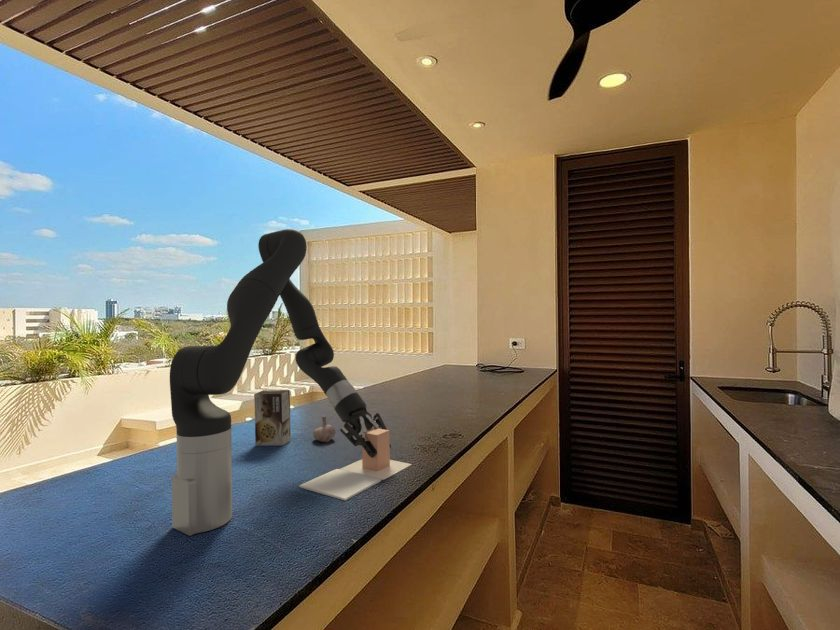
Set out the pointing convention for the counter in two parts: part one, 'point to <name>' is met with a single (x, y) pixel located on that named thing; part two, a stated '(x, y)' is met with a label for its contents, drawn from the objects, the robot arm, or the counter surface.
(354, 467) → the cream tile
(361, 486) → the beige board
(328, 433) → the garlic bulb
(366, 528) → the counter surface
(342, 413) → the robot arm
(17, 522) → the counter surface
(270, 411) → the coffee box
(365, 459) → the block
